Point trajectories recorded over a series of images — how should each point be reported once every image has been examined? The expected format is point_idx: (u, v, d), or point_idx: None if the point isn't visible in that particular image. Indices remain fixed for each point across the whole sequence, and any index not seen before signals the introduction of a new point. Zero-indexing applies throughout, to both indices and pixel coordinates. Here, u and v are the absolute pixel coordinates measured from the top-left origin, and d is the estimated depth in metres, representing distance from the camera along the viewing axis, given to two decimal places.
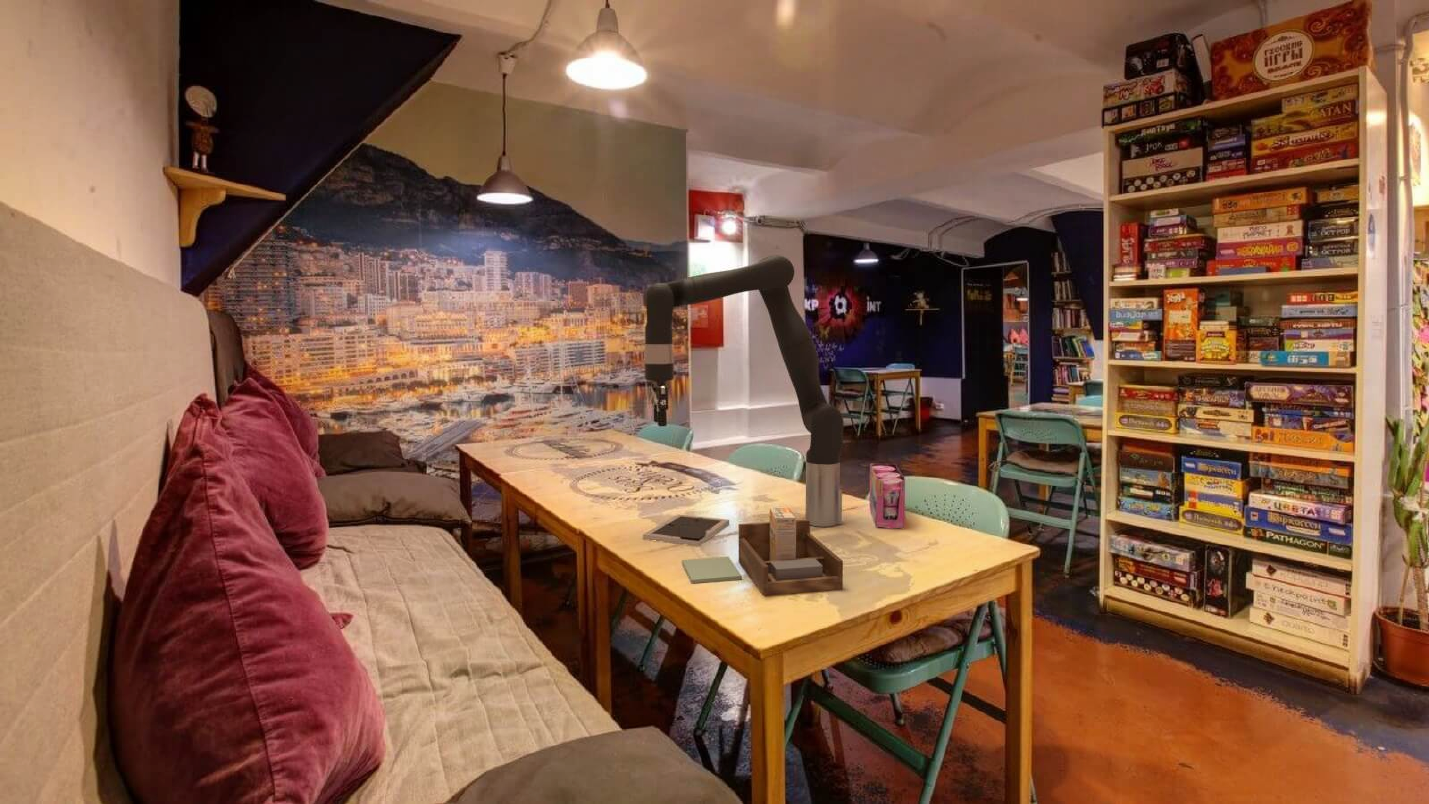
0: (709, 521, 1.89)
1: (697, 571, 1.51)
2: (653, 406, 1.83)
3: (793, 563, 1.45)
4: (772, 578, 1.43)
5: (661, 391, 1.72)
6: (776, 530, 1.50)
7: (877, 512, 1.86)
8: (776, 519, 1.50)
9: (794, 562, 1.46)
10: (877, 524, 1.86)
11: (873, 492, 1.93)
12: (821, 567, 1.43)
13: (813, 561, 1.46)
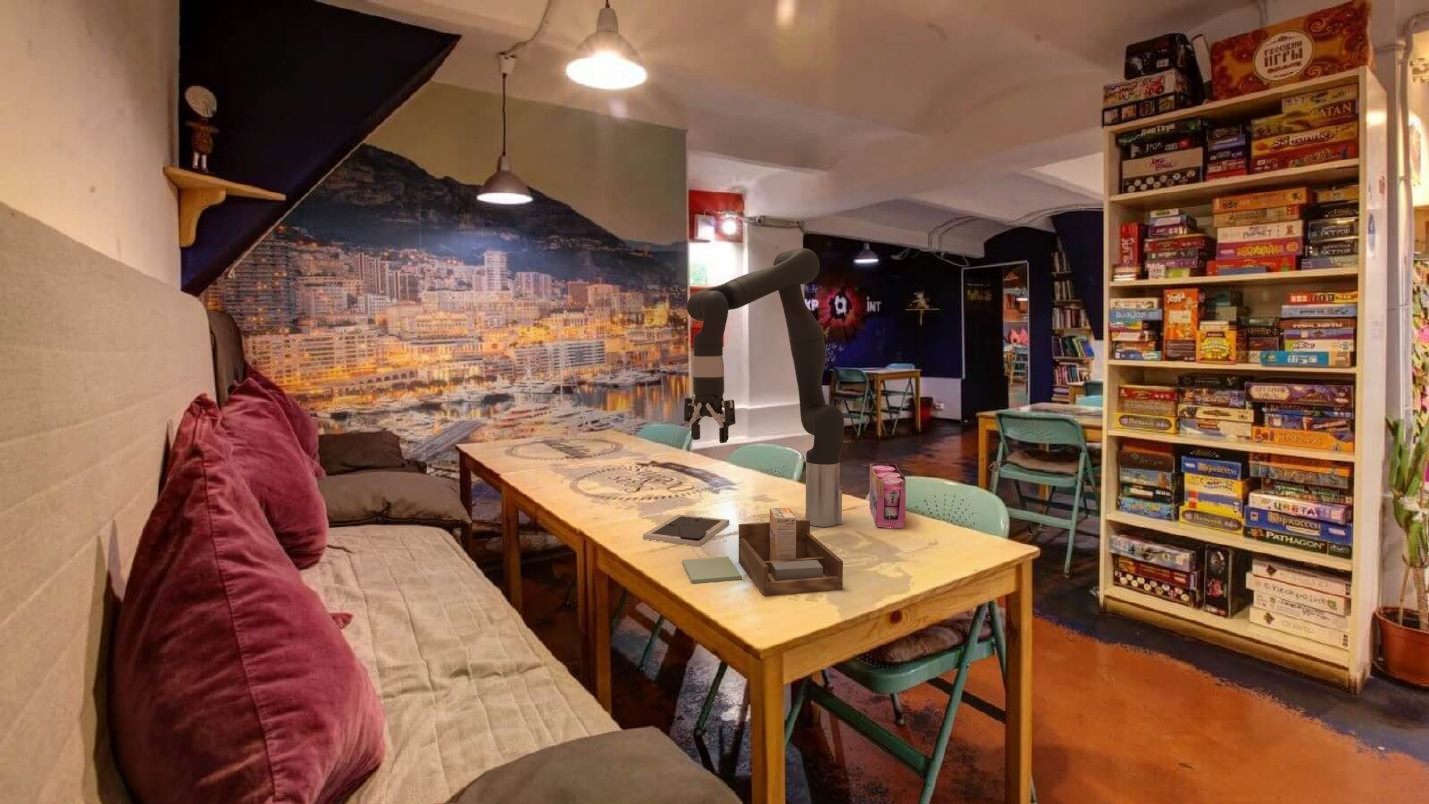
0: (709, 521, 1.89)
1: (697, 571, 1.51)
2: (693, 423, 1.69)
3: (794, 564, 1.45)
4: (772, 578, 1.44)
5: (729, 406, 1.62)
6: (776, 530, 1.50)
7: (878, 512, 1.86)
8: (776, 519, 1.50)
9: (794, 563, 1.46)
10: (878, 524, 1.86)
11: (873, 492, 1.93)
12: (821, 568, 1.43)
13: (814, 562, 1.46)
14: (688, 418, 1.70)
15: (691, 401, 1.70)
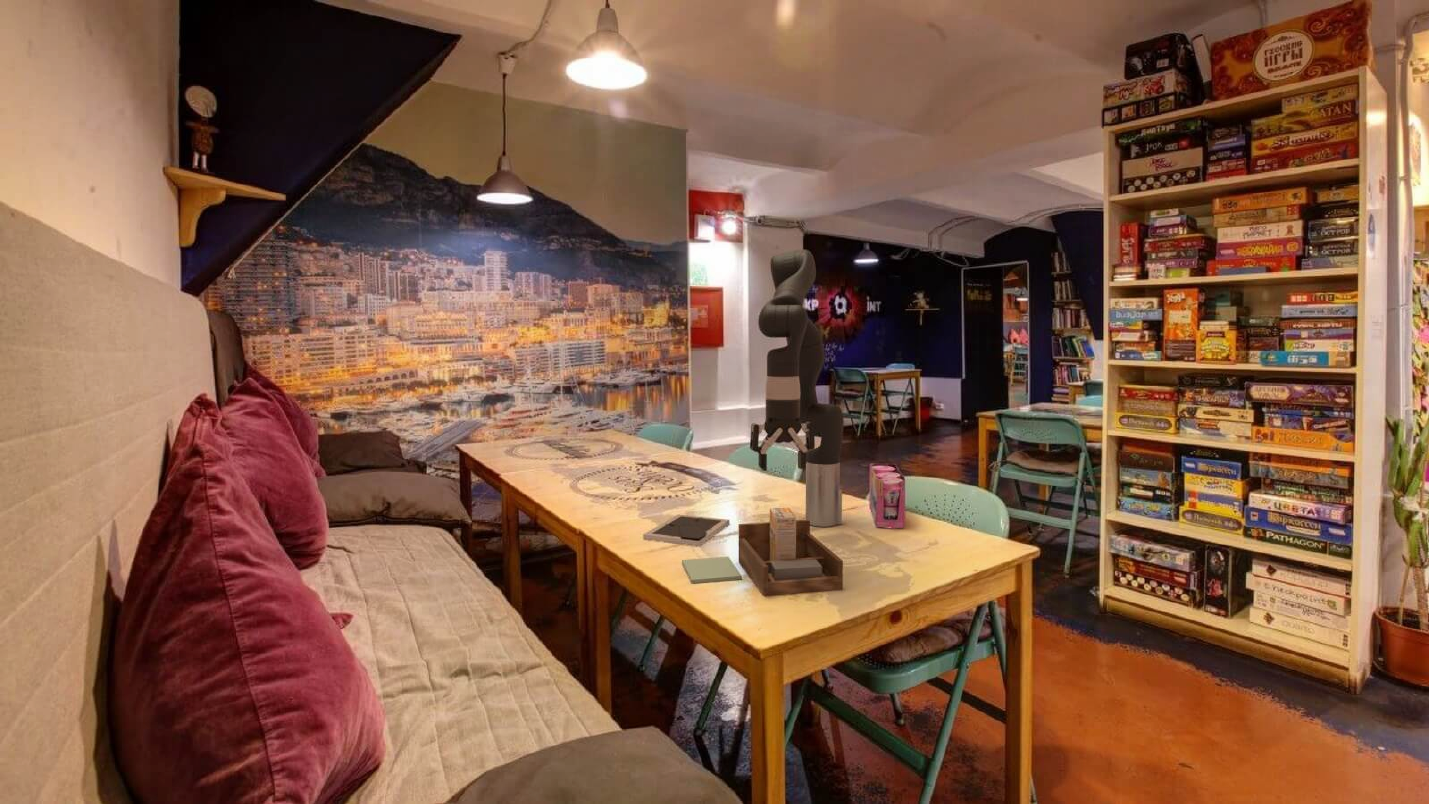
0: (709, 521, 1.89)
1: (697, 571, 1.51)
2: (765, 452, 1.50)
3: (793, 563, 1.45)
4: (771, 578, 1.44)
5: None
6: (776, 530, 1.50)
7: (877, 512, 1.86)
8: (776, 519, 1.50)
9: (793, 562, 1.46)
10: (877, 524, 1.86)
11: (873, 492, 1.93)
12: (820, 568, 1.43)
13: (814, 562, 1.46)
14: (757, 447, 1.50)
15: (760, 427, 1.50)
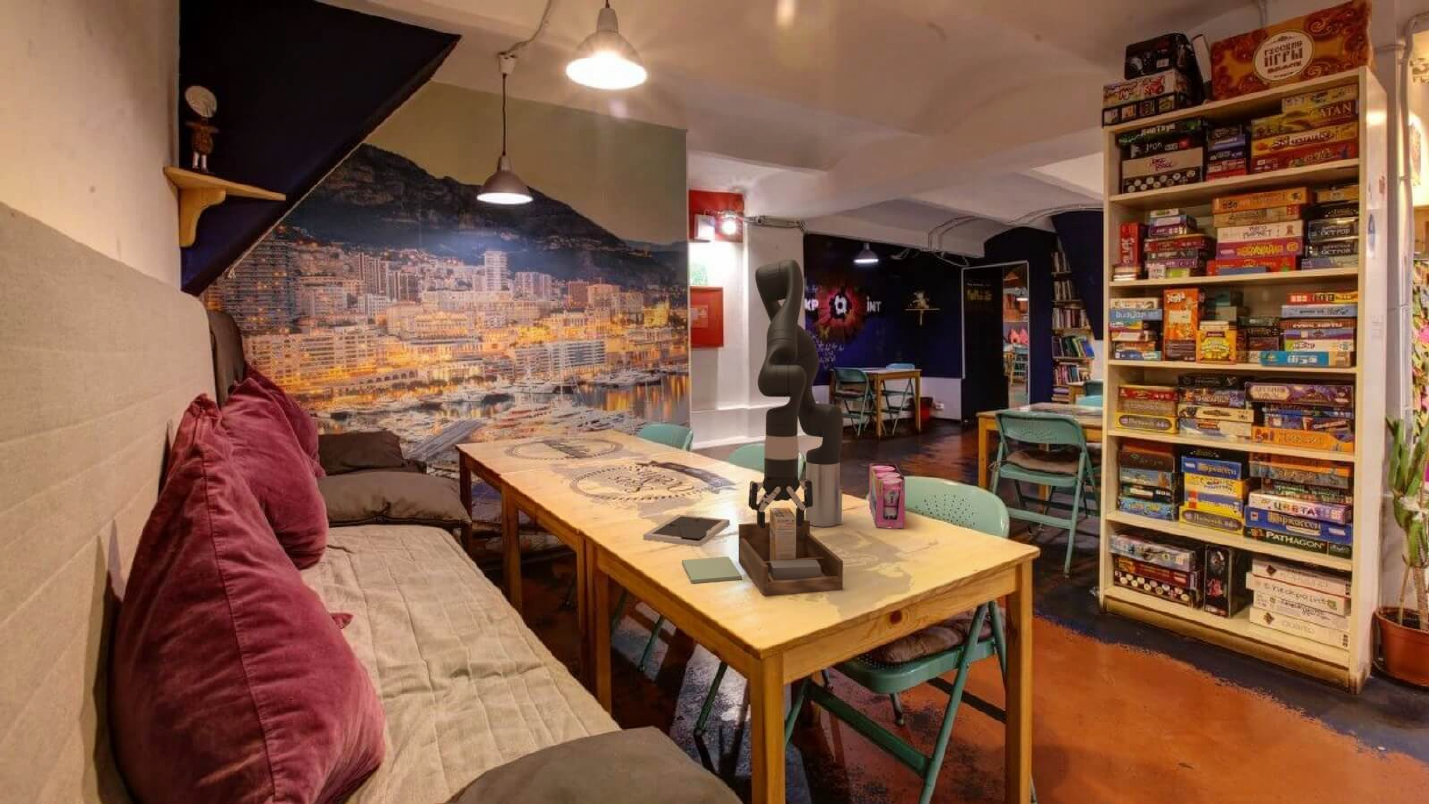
0: (709, 521, 1.89)
1: (697, 571, 1.51)
2: None
3: (792, 563, 1.45)
4: (771, 577, 1.44)
5: None
6: (776, 530, 1.50)
7: (877, 512, 1.86)
8: (776, 519, 1.50)
9: (793, 562, 1.46)
10: (877, 524, 1.86)
11: (873, 492, 1.93)
12: (819, 568, 1.43)
13: (813, 562, 1.46)
14: (756, 505, 1.51)
15: (759, 486, 1.52)
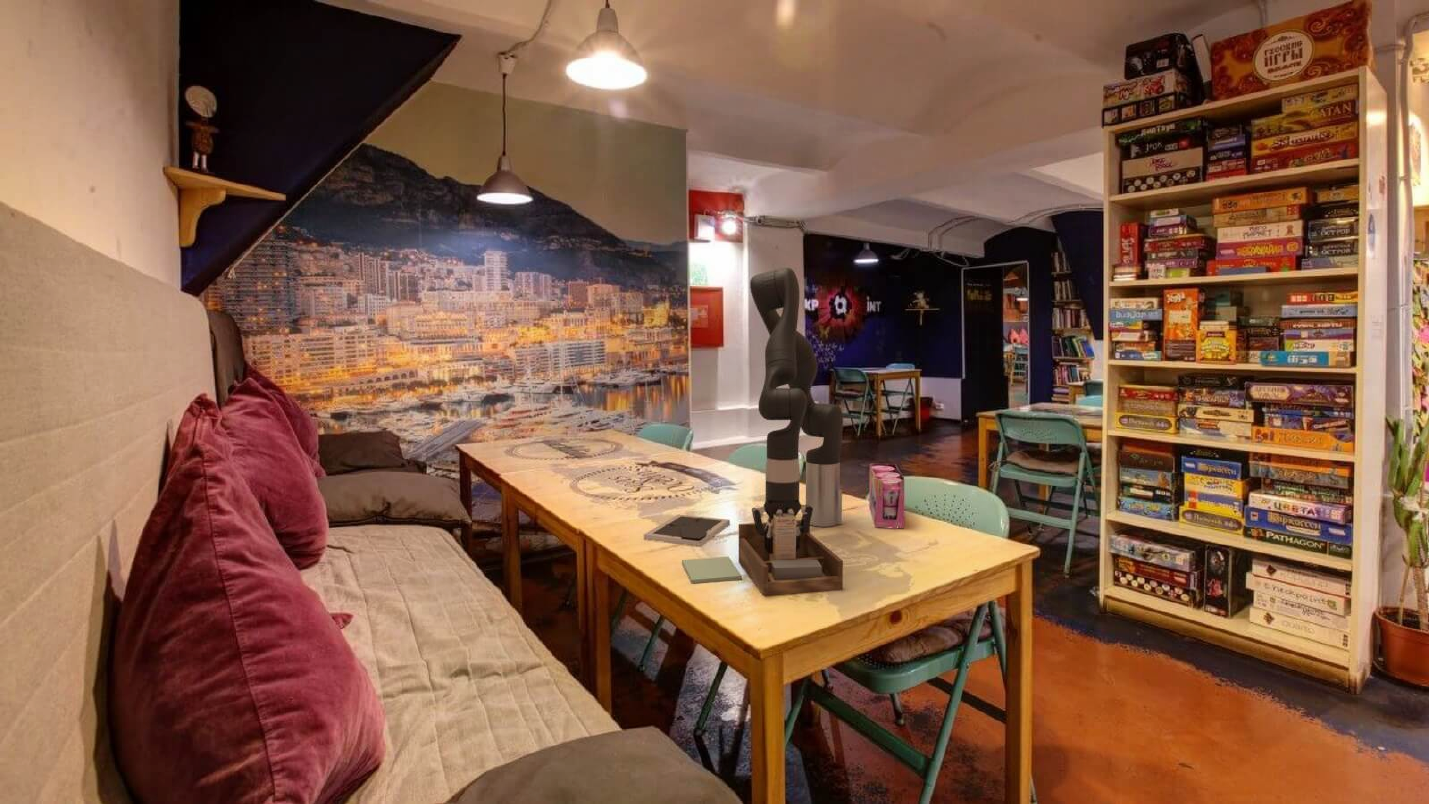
0: (709, 521, 1.89)
1: (697, 571, 1.51)
2: None
3: (793, 563, 1.45)
4: (771, 577, 1.44)
5: None
6: (776, 530, 1.50)
7: (876, 512, 1.86)
8: (776, 519, 1.50)
9: (794, 562, 1.46)
10: (876, 524, 1.86)
11: None
12: (820, 568, 1.43)
13: (814, 562, 1.46)
14: (764, 531, 1.52)
15: (761, 511, 1.52)
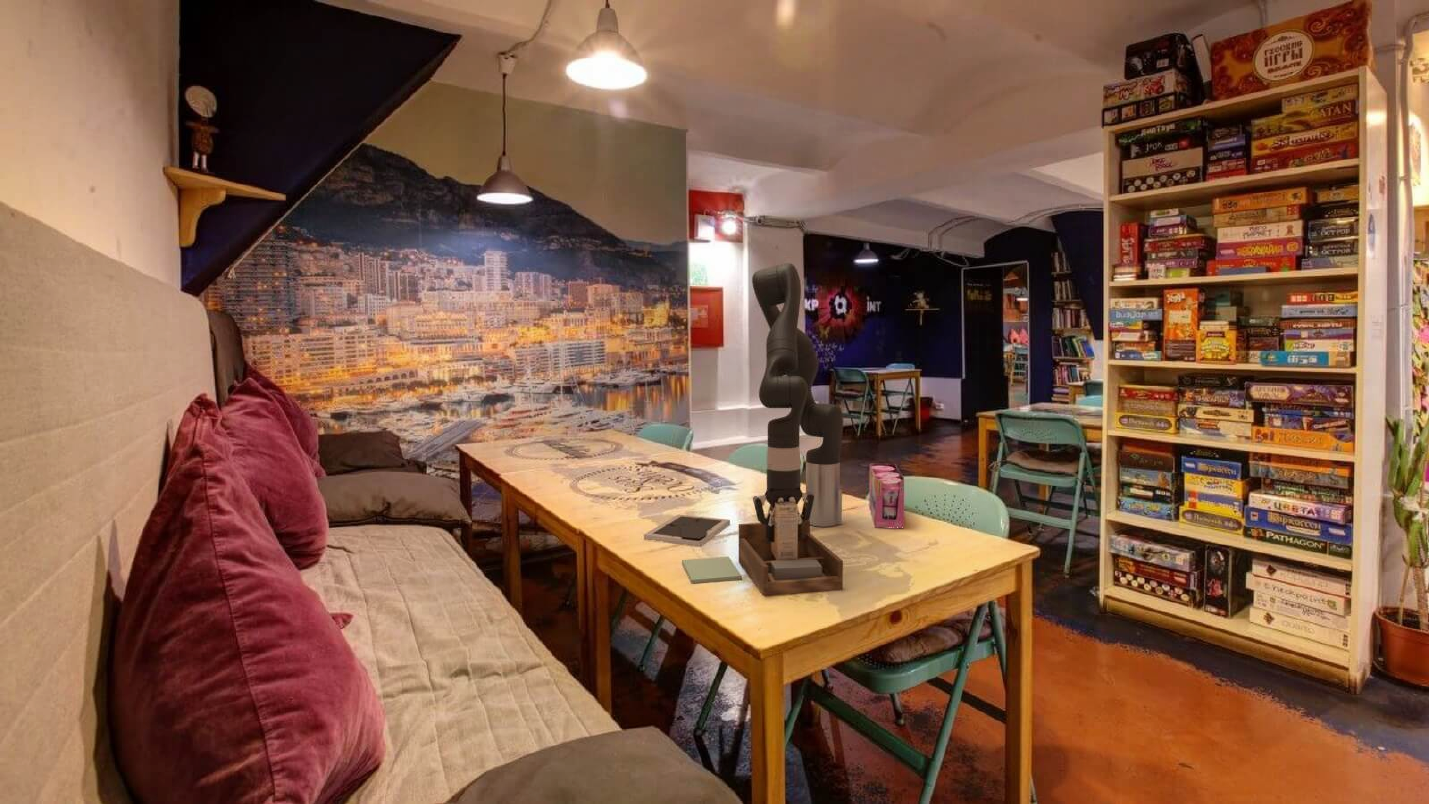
0: (709, 521, 1.89)
1: (697, 571, 1.51)
2: (773, 523, 1.52)
3: (793, 563, 1.45)
4: (771, 577, 1.44)
5: None
6: (778, 518, 1.50)
7: (876, 512, 1.86)
8: (778, 507, 1.49)
9: (794, 562, 1.46)
10: (876, 524, 1.86)
11: (872, 492, 1.93)
12: (820, 568, 1.43)
13: (814, 562, 1.46)
14: (765, 520, 1.52)
15: (762, 499, 1.52)
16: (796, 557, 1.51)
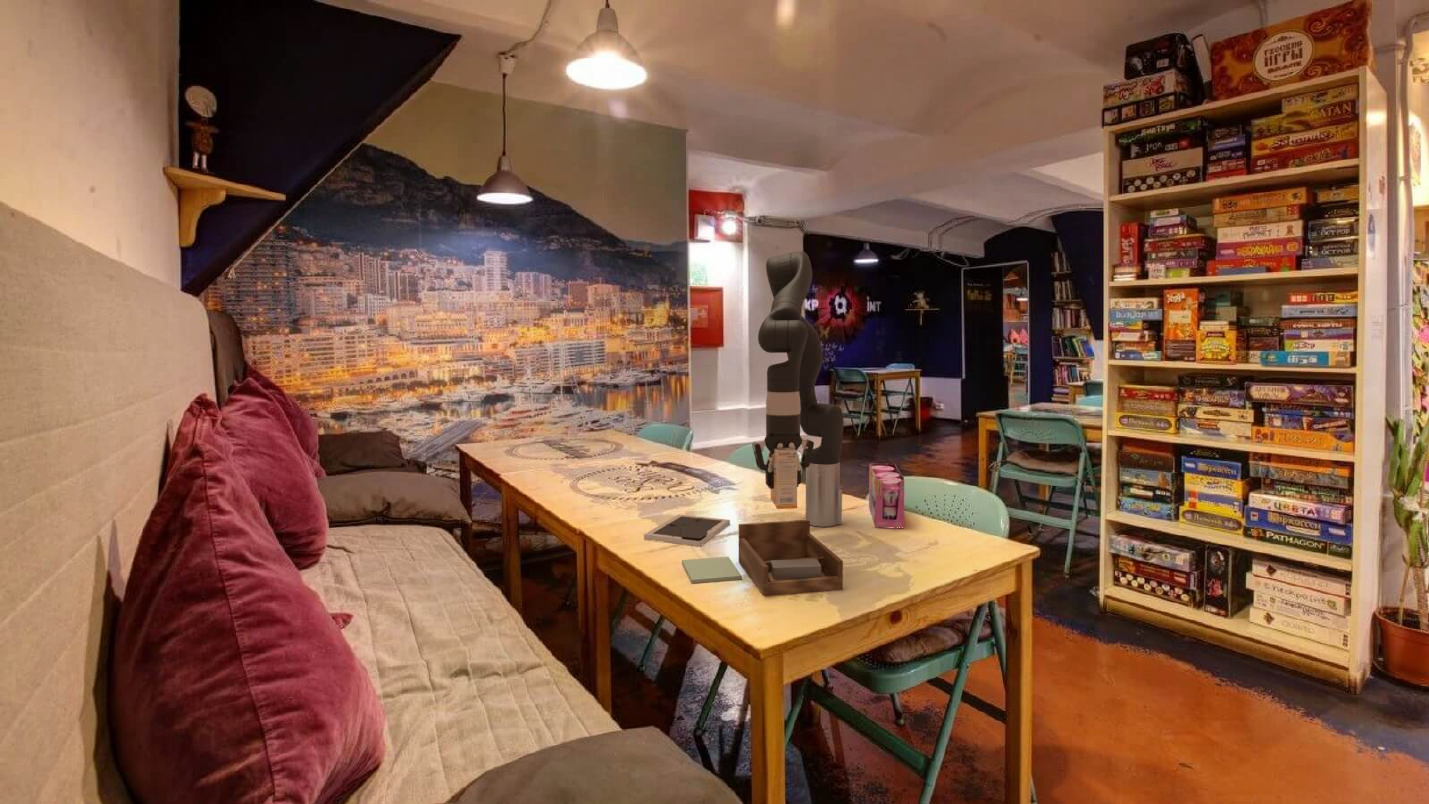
0: (709, 521, 1.89)
1: (697, 571, 1.51)
2: (772, 469, 1.51)
3: (793, 562, 1.46)
4: (771, 577, 1.44)
5: None
6: (777, 463, 1.48)
7: (876, 512, 1.86)
8: (777, 452, 1.48)
9: (793, 561, 1.46)
10: (876, 524, 1.86)
11: (872, 492, 1.93)
12: (819, 567, 1.43)
13: (814, 561, 1.46)
14: (764, 466, 1.51)
15: (762, 445, 1.51)
16: (796, 503, 1.50)
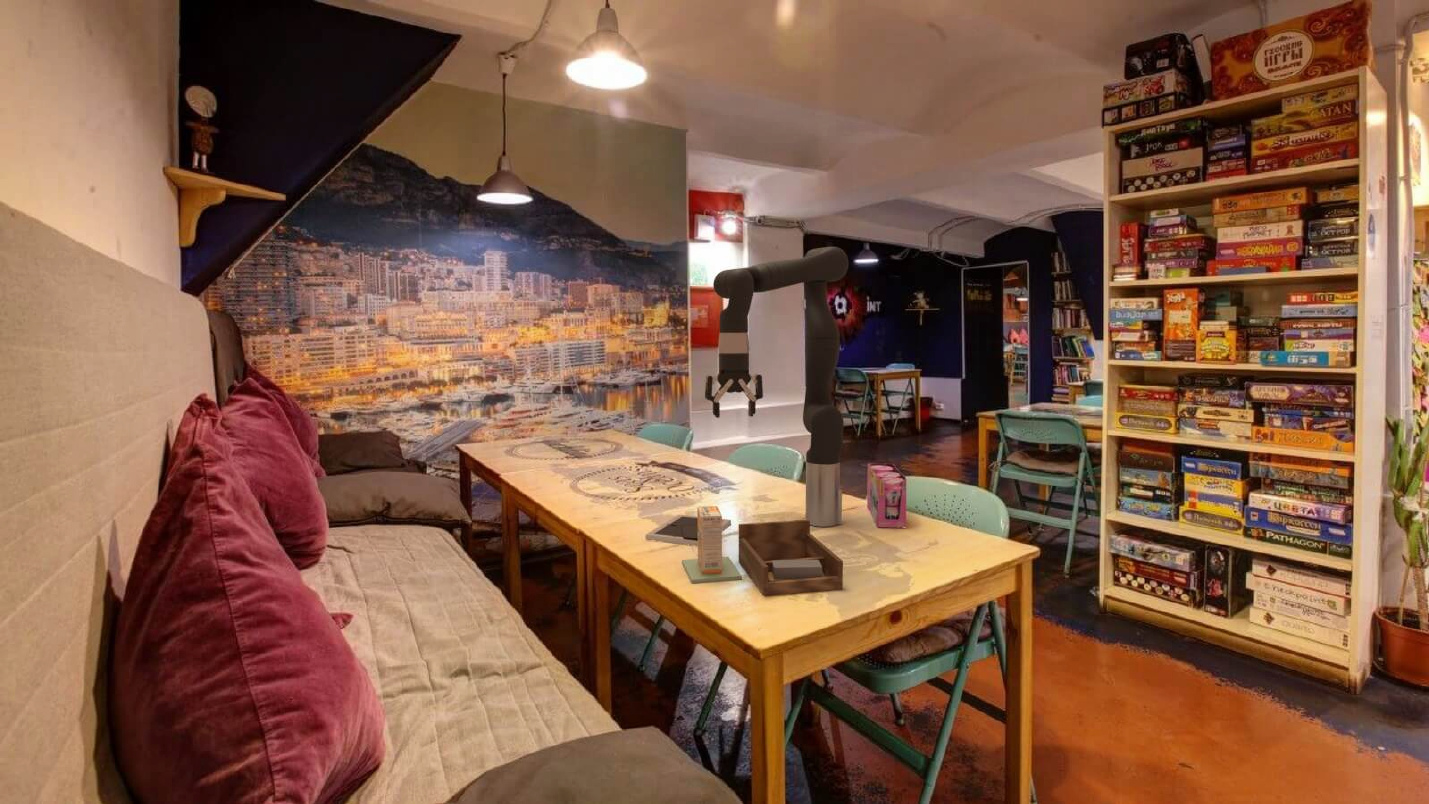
0: None
1: (697, 571, 1.51)
2: (718, 400, 1.69)
3: (794, 563, 1.45)
4: (770, 577, 1.44)
5: None
6: (702, 529, 1.48)
7: (879, 512, 1.86)
8: (702, 517, 1.48)
9: (794, 562, 1.46)
10: (879, 524, 1.86)
11: (873, 492, 1.93)
12: (820, 568, 1.43)
13: (815, 562, 1.46)
14: None
15: (714, 379, 1.68)
16: (721, 568, 1.50)
